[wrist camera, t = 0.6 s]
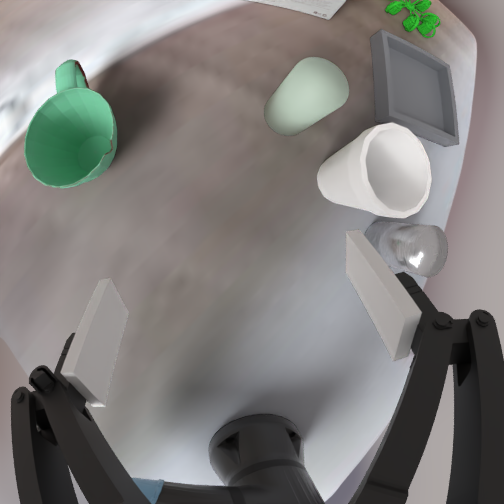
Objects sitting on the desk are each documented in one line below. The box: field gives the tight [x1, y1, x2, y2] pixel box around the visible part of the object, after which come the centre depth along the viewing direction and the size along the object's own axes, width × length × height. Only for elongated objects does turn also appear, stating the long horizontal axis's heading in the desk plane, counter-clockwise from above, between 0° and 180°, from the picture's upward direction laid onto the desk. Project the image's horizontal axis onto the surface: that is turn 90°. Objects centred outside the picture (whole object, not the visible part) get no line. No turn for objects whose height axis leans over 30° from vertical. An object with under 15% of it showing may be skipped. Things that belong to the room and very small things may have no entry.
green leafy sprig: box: [385, 0, 440, 38], centre depth 34 cm, size 15×15×7 cm
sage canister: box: [264, 57, 349, 136], centre depth 30 cm, size 6×6×11 cm
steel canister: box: [364, 221, 448, 277], centre depth 35 cm, size 6×6×11 cm
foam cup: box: [317, 122, 432, 218], centre depth 32 cm, size 10×9×13 cm
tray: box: [370, 29, 459, 147], centre depth 37 cm, size 16×16×4 cm
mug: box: [24, 60, 117, 188], centre depth 26 cm, size 15×10×10 cm
